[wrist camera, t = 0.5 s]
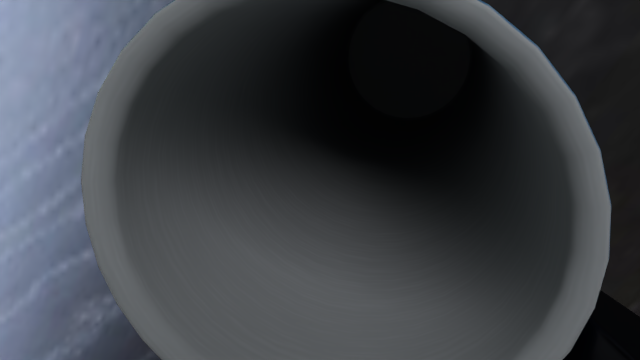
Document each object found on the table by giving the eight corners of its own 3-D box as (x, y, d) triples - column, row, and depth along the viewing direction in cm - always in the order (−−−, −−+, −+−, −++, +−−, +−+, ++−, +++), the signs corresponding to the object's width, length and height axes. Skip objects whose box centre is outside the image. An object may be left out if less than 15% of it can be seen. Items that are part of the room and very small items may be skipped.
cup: (454, 172, 22) (452, 518, 8) (295, 105, 22) (46, 327, 9) (540, 2, 19) (752, 104, 6) (357, -71, 20) (136, -144, 6)
